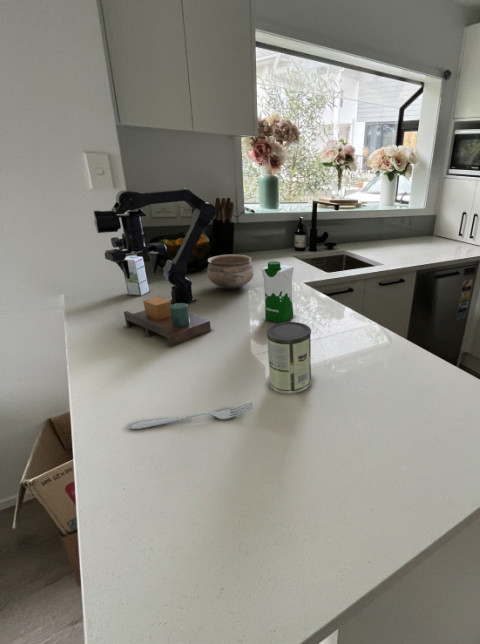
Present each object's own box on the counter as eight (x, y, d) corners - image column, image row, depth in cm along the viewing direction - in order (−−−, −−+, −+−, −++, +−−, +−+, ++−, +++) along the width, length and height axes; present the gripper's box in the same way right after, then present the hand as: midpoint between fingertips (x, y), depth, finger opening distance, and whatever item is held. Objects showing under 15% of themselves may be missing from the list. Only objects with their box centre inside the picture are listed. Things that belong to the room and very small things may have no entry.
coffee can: (281, 368, 99) (279, 319, 93) (317, 376, 96) (317, 325, 90) (261, 388, 90) (257, 335, 84) (300, 397, 87) (299, 342, 81)
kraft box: (160, 310, 124) (157, 296, 122) (173, 315, 121) (170, 301, 119) (145, 315, 121) (143, 300, 119) (158, 320, 117) (155, 305, 115)
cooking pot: (202, 282, 165) (198, 255, 160) (243, 277, 174) (241, 251, 170) (218, 299, 146) (215, 268, 141) (264, 292, 155) (263, 263, 150)
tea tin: (183, 319, 118) (180, 301, 116) (193, 323, 115) (191, 305, 113) (169, 324, 114) (166, 306, 112) (179, 328, 112) (176, 310, 109)
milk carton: (261, 320, 128) (258, 262, 120) (276, 311, 136) (274, 256, 128) (283, 325, 125) (281, 266, 117) (297, 316, 132) (296, 260, 124)
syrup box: (149, 291, 153) (143, 256, 147) (141, 296, 147) (134, 259, 142) (136, 290, 153) (129, 255, 148) (127, 295, 148) (119, 258, 142)
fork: (132, 422, 77) (130, 415, 76) (252, 407, 83) (252, 400, 82) (128, 432, 74) (126, 425, 74) (253, 416, 80) (253, 409, 79)
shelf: (166, 313, 131) (164, 300, 130) (211, 330, 119) (209, 316, 117) (126, 326, 121) (123, 311, 119) (171, 346, 108) (168, 330, 107)
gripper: (146, 224, 136) (153, 266, 142) (91, 231, 122) (101, 277, 128) (164, 228, 131) (170, 272, 137) (108, 235, 116) (119, 283, 122)
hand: (141, 276), depth 131 cm, fingers open, 9 cm apart
